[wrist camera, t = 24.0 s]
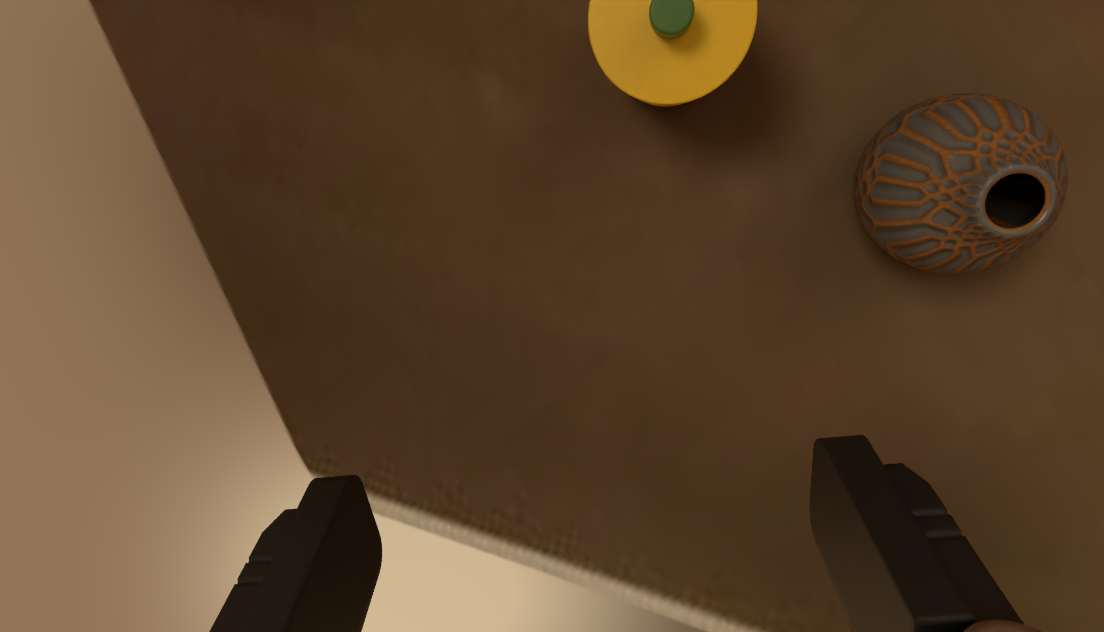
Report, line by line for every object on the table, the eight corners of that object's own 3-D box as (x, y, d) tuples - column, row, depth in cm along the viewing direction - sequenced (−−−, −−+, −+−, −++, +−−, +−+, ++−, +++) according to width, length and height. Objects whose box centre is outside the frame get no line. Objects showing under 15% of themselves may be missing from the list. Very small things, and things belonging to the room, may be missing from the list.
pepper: (633, 126, 31) (622, 132, 22) (586, 8, 30) (554, -37, 21) (751, 74, 30) (790, 57, 21) (706, -53, 29) (727, -129, 20)
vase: (827, 248, 32) (885, 297, 23) (849, 93, 30) (923, 86, 21) (985, 257, 31) (1106, 310, 22) (1020, 97, 29) (1167, 91, 20)
